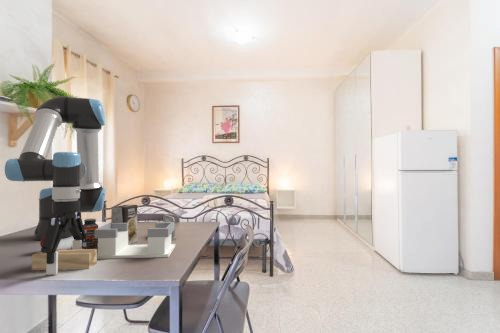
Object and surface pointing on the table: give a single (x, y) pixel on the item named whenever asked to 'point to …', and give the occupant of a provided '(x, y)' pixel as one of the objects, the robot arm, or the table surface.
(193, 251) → the table surface
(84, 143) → the robot arm
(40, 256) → the rail
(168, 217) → the handheld gaming console
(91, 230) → the supplement bottle
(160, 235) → the bracket stand
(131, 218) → the coffee box
